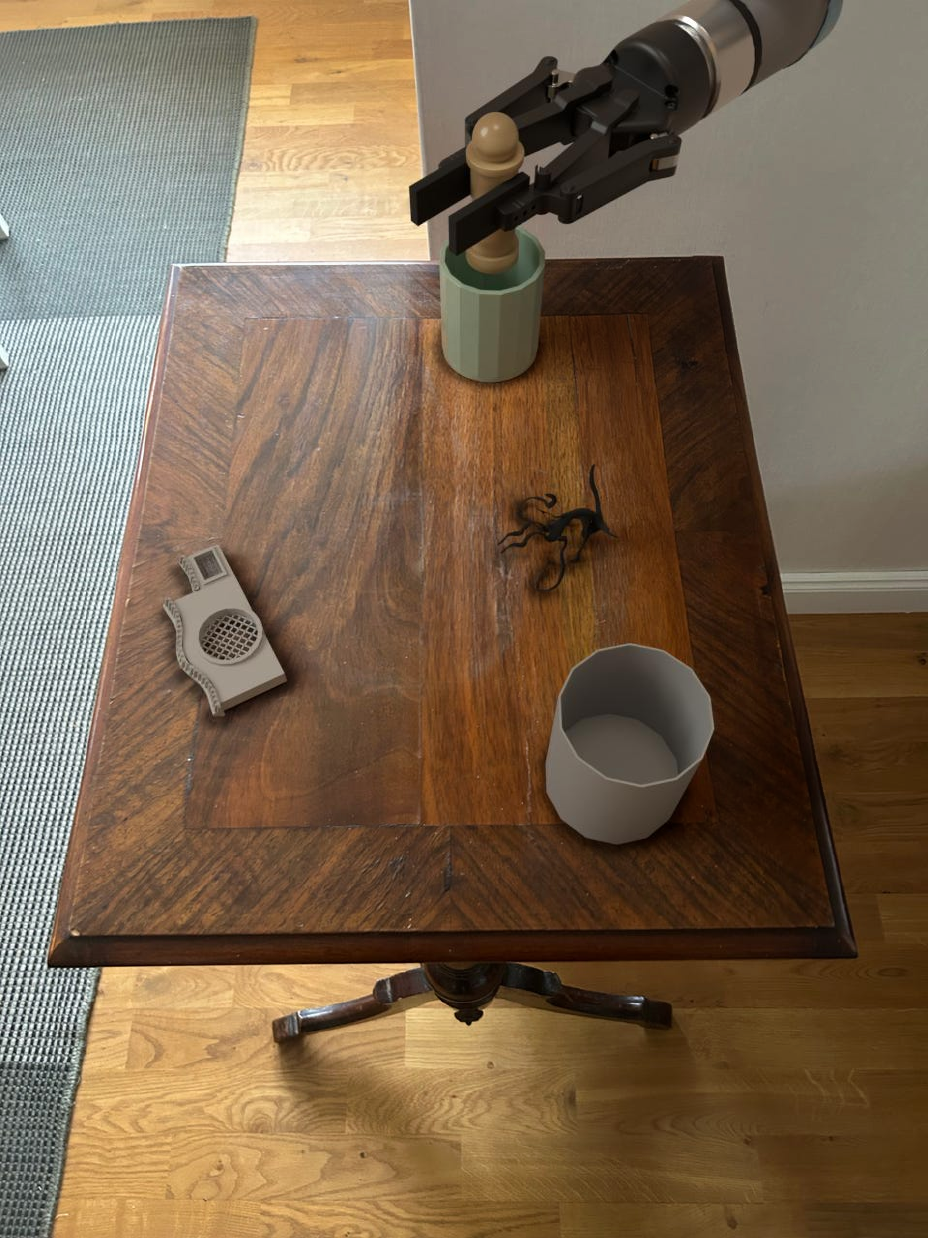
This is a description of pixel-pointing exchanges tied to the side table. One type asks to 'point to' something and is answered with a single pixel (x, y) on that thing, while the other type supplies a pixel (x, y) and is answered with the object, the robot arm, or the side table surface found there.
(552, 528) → the creature
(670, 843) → the side table surface
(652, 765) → the cup
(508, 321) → the tumbler
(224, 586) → the lattice window wall
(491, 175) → the game piece
